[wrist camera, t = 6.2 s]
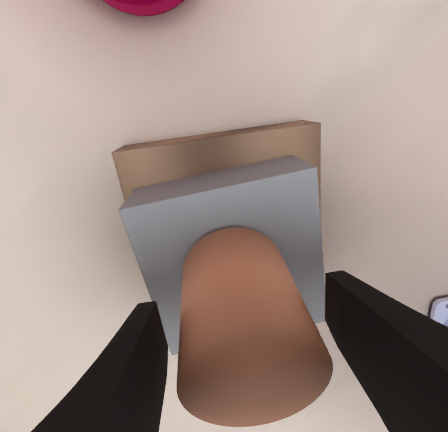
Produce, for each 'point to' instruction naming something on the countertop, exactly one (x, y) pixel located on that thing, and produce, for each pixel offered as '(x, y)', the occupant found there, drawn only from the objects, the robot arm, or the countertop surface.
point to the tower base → (215, 153)
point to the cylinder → (245, 334)
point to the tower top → (227, 218)
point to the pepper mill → (144, 6)
